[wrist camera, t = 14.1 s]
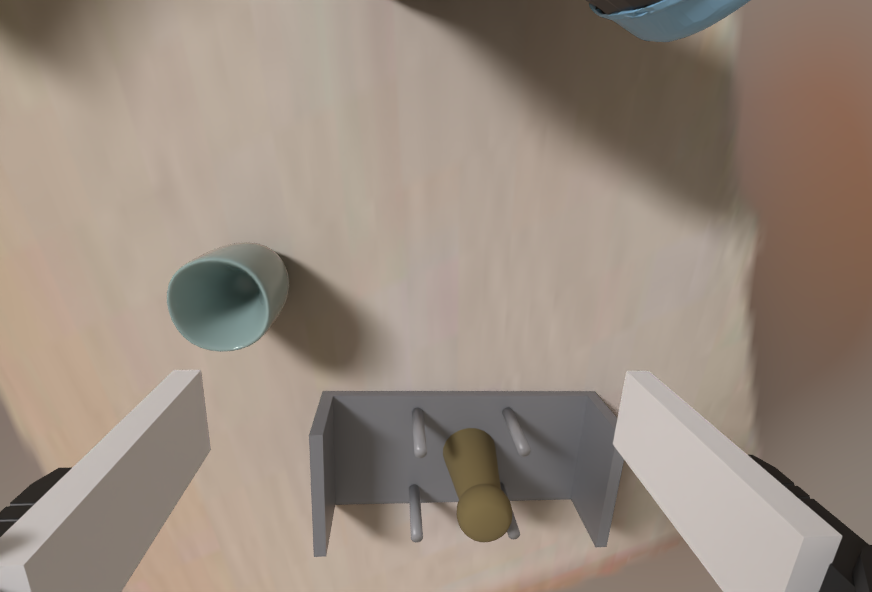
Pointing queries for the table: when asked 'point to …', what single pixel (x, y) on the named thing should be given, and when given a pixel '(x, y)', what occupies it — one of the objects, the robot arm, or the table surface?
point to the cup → (228, 296)
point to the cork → (477, 485)
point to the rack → (427, 434)
